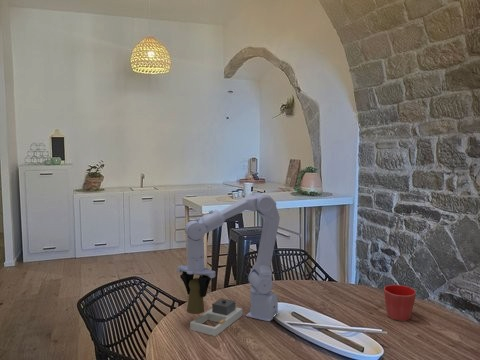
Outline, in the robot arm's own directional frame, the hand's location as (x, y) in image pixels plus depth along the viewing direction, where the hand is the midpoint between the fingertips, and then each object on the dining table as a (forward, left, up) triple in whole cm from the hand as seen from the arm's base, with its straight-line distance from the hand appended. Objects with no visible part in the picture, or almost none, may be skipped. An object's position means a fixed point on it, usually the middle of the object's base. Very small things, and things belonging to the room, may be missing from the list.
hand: (196, 294), depth 141 cm
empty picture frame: (-5, -4, -10) cm, 12 cm away
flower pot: (-60, -39, -11) cm, 72 cm away
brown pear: (0, 0, -6) cm, 6 cm away
